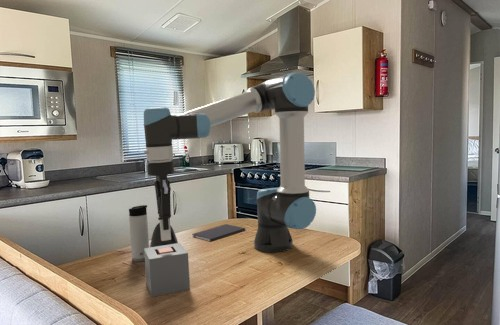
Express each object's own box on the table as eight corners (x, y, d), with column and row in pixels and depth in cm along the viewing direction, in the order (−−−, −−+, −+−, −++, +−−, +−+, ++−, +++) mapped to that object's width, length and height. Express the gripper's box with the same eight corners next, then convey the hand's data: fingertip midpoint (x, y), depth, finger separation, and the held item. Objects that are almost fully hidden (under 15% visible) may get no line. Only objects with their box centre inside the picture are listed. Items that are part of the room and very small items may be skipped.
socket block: (181, 276, 120) (179, 242, 119) (189, 289, 110) (187, 252, 109) (146, 283, 116) (144, 248, 115) (151, 297, 106) (149, 259, 105)
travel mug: (145, 262, 135) (142, 207, 133) (128, 261, 136) (125, 207, 134) (153, 256, 141) (150, 203, 139) (137, 255, 142) (133, 203, 141)
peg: (172, 278, 116) (170, 247, 115) (175, 283, 112) (173, 250, 111) (159, 281, 114) (157, 249, 113) (161, 285, 111) (159, 252, 110)
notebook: (210, 242, 157) (245, 231, 173) (210, 239, 157) (245, 228, 173) (191, 237, 166) (226, 227, 181) (191, 234, 166) (225, 224, 181)
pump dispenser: (154, 271, 125) (151, 227, 124) (147, 262, 134) (144, 220, 133) (184, 265, 130) (181, 222, 129) (175, 257, 139) (173, 216, 138)
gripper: (144, 160, 114) (150, 236, 117) (150, 163, 102) (157, 247, 105) (168, 158, 117) (174, 232, 119) (177, 161, 105) (183, 243, 108)
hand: (166, 239), depth 112 cm, fingers closed
